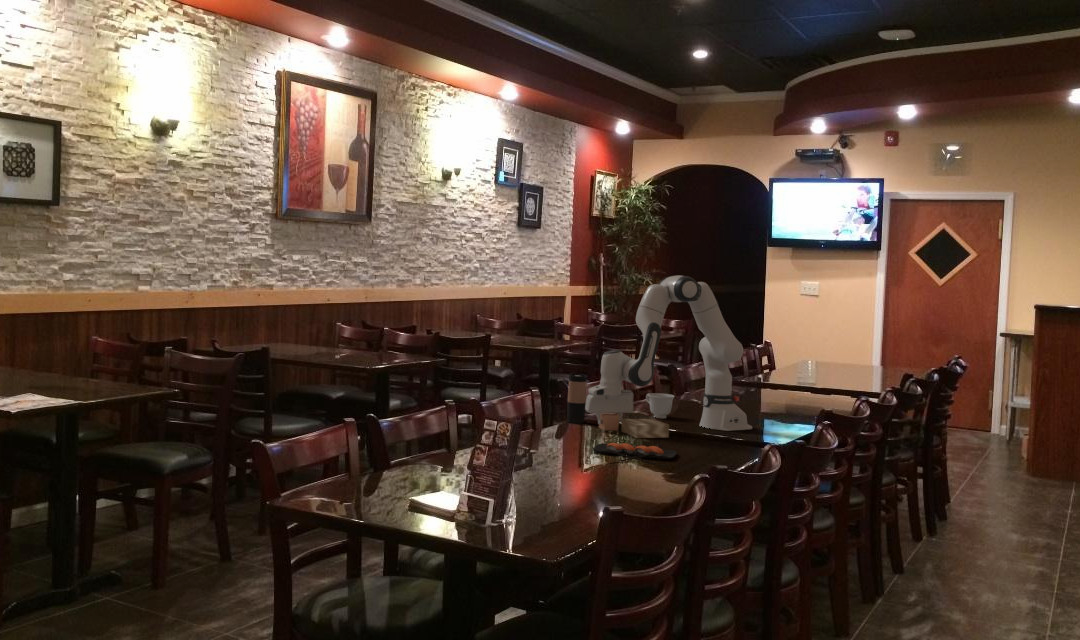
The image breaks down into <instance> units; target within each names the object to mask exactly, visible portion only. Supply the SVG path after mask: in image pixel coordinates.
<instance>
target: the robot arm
mask: <svg viewBox="0 0 1080 640" xmlns="http://www.w3.org/2000/svg"><path fill="white" fill-rule="evenodd" d="M672 302H673V303H688V305H689V306H690V309H691V312H692V316H693V317H694V319H695V322H696V325H697V328H698V330H699V331H700V332H702V334H703V335H704V337H703V338H701V340H700V341H699V344H698V351H699V352H700V354H701V356H702V360H703V365H704V370H705V371H704V373H705V380H704V381H705V382H704V383H705V385H704V392H703V402H702V403H703V404H702V405H703V409H702V414H701V419H700V421H699V425H698V426H699V427H701V426H702V427H701V428H704V427H705V429H709V428H710V430H719V431H726V432H730V431H746V430H753V426H752V425H751V424H749V423H748V419H747V418H748V417H747V414H746V413H745V411H743V410H742V409H741V408H740V407H739V406H738V405H736V403H735V402H739V401H740V398H739V396H737V395H732V391H733V390H732V386H733V375H732V374H731V371H730V369H729V364H731V363H733V364H734V363H737V362H738V361H740V360H741V358H742V357H743V354H744V347H743V343H741V342H740V341H739V340H738V339H737V338H736V336H735V335H734V334H733V332H732V330H731V329H730V327H729V326H728V324H727V323H726V321H725V319H724V317H723V315H722V314H723V313H722V311H721V310H720V307H719V303H718V301H717V299H716V297H715V295H714V292H713V291H712V289H711V288H710V286H709V284H707V283H706V282H704V281H697V280H696V279H695V278H693V277H691V276H688V275H680V274H679V275H667V276H665V277H663V278H662V279H661V280H660V281H659V283H654V284H650V285H649V286H648V287H647V288H646V290H645V292H644V293H643V295H642V298H641V300H640V303H639V305H638V308H637V310H636V315H635V323H636V326H637V327H638V329H639V330H640V332H641V333H642V340H643V341H642V344H641V348H640V352H639V356H638V358H636V359H635V358H633V357H630V356H629V355H626V354H625V353H624V352H622V350H619V349H611V350H607V351H605V352H603V354H602V356H601V363H600V375H601V376H600V381H599V384H598V385H595V386H592V387H589V388H588V389H587V391H588V392H587V393H588V394H587V395H586V405H585V412H586V413H589V414H595V416H596V419H597V424H598V425H599V424H603V420H602V419H601V418H600V416H601V413H614V414H617V415H619V424H620V423H621V420H622V419H621V418H622V417H623V414H624V413H625V414H627V413H629V414H631V413H633V411H634V392H633V391H631V390H630V389H622V384H623V383H622V382H623V381H625V382H628V383H631V384H633V385H635V386H637V387H645V386H647V385H649V384H650V383H651V382H652V380H653V379H654V373H655V366H654V365H655V359H656V356H657V352H658V347H659V343H660V340H661V339H660V338H661V331H662V324H663V320H664V317H665V314H666V312H667V308H668V306H669V304H670V303H672Z"/></svg>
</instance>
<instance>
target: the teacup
mask: <svg viewBox="0 0 1080 640" xmlns="http://www.w3.org/2000/svg"><path fill="white" fill-rule="evenodd" d="M674 398H675V395H673V394H668V393H660V392H659V393H658V392H655V393H652V392H651V393H647V394H646V395H645V400H646V402H647V404H649V410H650V412H651V414H653V418H655V417H656V418H655V419H667V416H668V415H670V413H671V411H672V406H673V401H674Z"/></svg>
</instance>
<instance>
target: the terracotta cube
mask: <svg viewBox="0 0 1080 640" xmlns="http://www.w3.org/2000/svg"><path fill="white" fill-rule="evenodd" d="M600 418H601V419H602V420H603V424H598V428H599V429H601V430H602V431H619V424H620V423H619V415H618V414H617V413H601V416H600Z"/></svg>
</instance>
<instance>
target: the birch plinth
mask: <svg viewBox="0 0 1080 640" xmlns="http://www.w3.org/2000/svg"><path fill="white" fill-rule="evenodd" d="M620 429H621V430H620V431H621V432H622V433H624V434H626V435H629V436H631V437H633V438H634V439H645V438H647V439H655V438H656V439H657V438H658V439H660V438H669V437H670V424H668V423H666V422H662V421H660V420H657V419H656V418H622V419H621V428H620Z"/></svg>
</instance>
